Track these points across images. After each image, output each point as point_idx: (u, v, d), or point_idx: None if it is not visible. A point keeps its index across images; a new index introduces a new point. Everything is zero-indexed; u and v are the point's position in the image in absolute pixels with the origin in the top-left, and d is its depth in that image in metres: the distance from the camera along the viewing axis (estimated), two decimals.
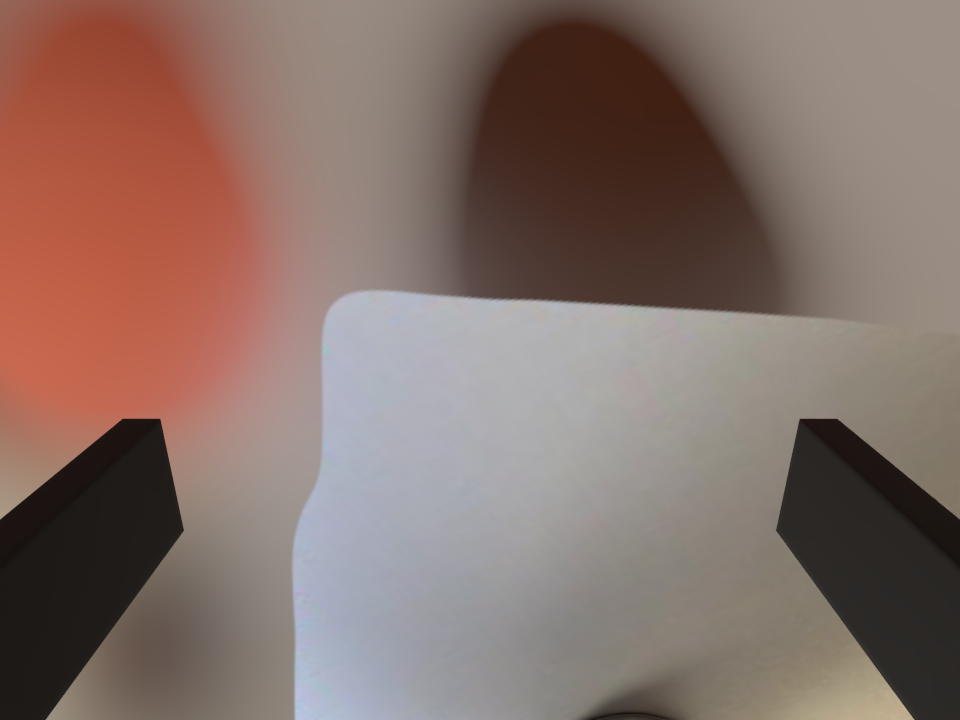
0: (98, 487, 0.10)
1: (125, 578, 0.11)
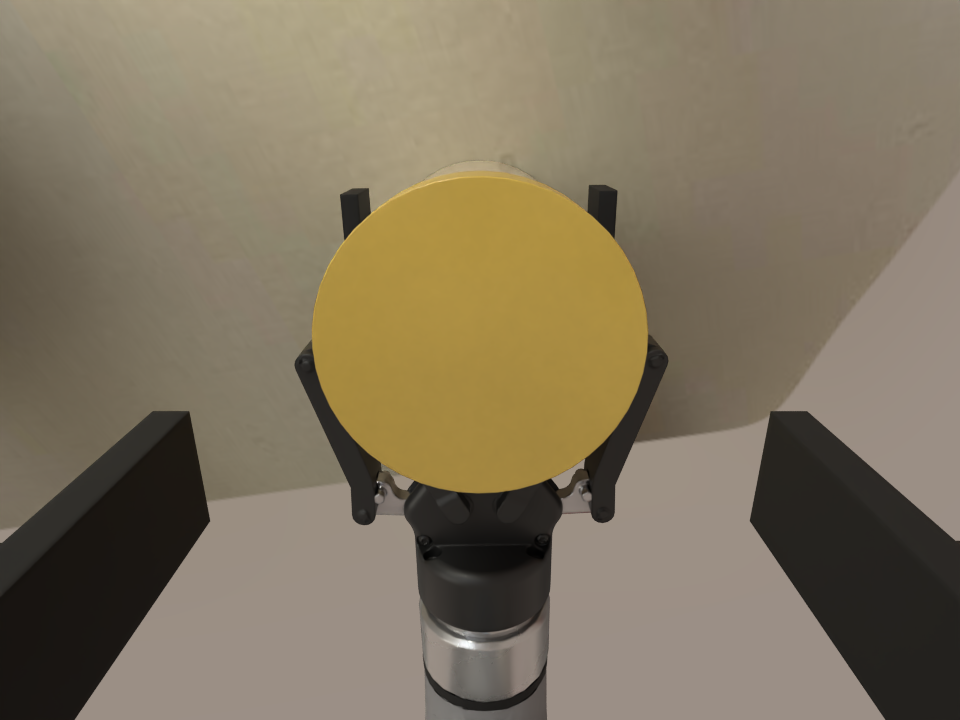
0: (134, 476, 0.11)
1: (158, 565, 0.11)
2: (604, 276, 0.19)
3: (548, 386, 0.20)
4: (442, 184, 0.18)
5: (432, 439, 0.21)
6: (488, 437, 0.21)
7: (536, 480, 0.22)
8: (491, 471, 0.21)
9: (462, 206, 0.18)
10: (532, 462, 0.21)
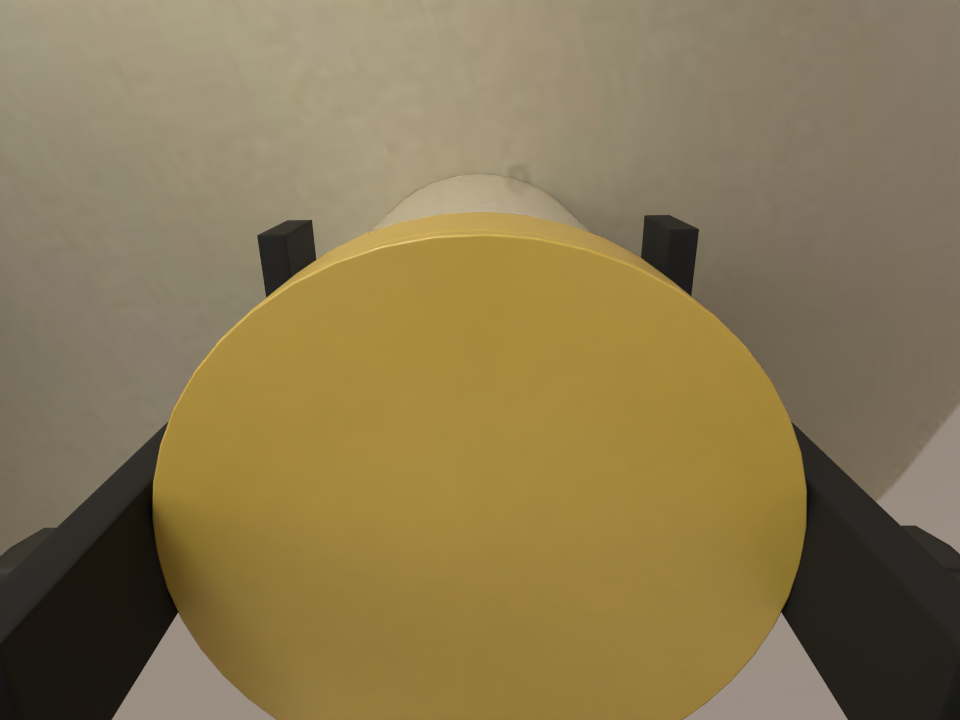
0: None
1: None
2: (730, 429, 0.09)
3: (608, 617, 0.11)
4: (400, 251, 0.08)
5: (392, 699, 0.12)
6: (495, 696, 0.11)
7: None
8: None
9: (443, 295, 0.09)
10: None
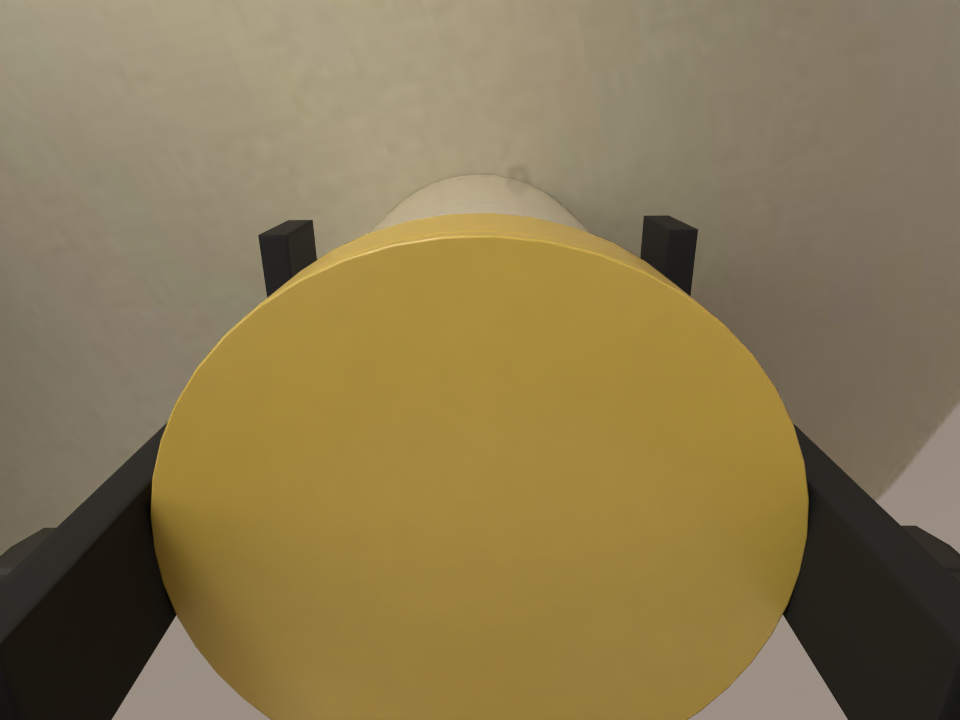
0: None
1: None
2: (237, 415, 0.09)
3: (503, 423, 0.09)
4: (239, 688, 0.11)
5: (693, 578, 0.10)
6: (658, 489, 0.10)
7: (742, 360, 0.09)
8: (740, 457, 0.10)
9: (253, 657, 0.11)
10: (696, 386, 0.09)
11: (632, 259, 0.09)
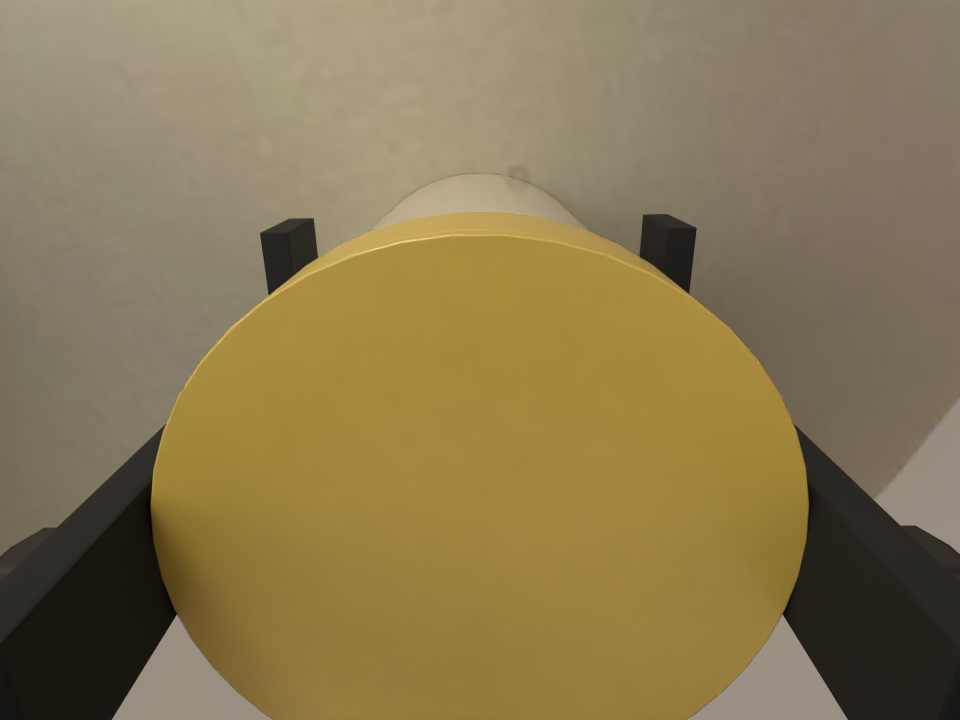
0: None
1: None
2: None
3: (331, 587, 0.10)
4: (710, 695, 0.11)
5: (413, 365, 0.09)
6: (328, 447, 0.09)
7: (171, 440, 0.09)
8: (256, 393, 0.09)
9: (665, 693, 0.11)
10: (215, 464, 0.10)
11: None
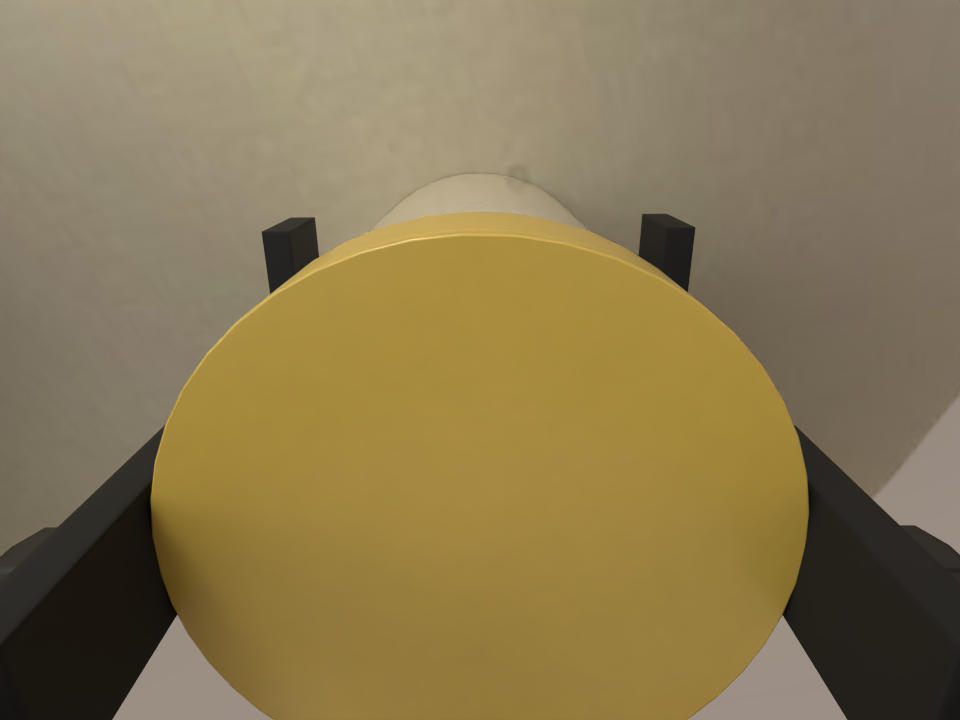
0: None
1: None
2: (755, 537, 0.10)
3: (560, 657, 0.11)
4: (578, 255, 0.08)
5: (317, 657, 0.11)
6: (416, 690, 0.11)
7: None
8: None
9: (592, 312, 0.09)
10: None
11: None
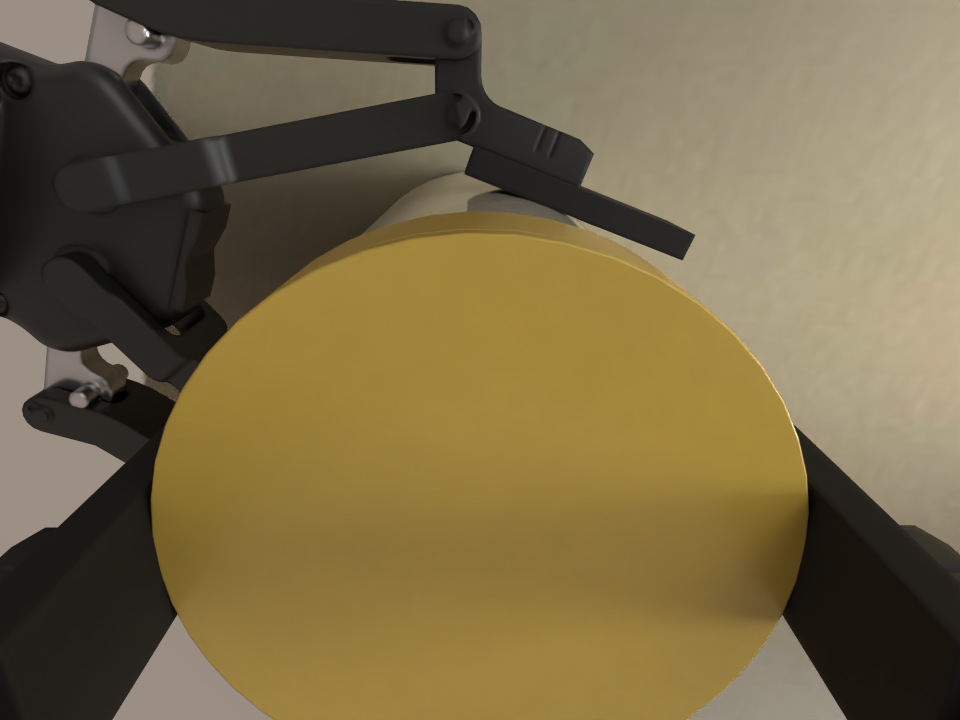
0: None
1: None
2: (754, 537, 0.10)
3: (560, 656, 0.11)
4: (578, 255, 0.08)
5: (318, 657, 0.11)
6: (416, 690, 0.11)
7: None
8: None
9: (592, 312, 0.09)
10: None
11: None
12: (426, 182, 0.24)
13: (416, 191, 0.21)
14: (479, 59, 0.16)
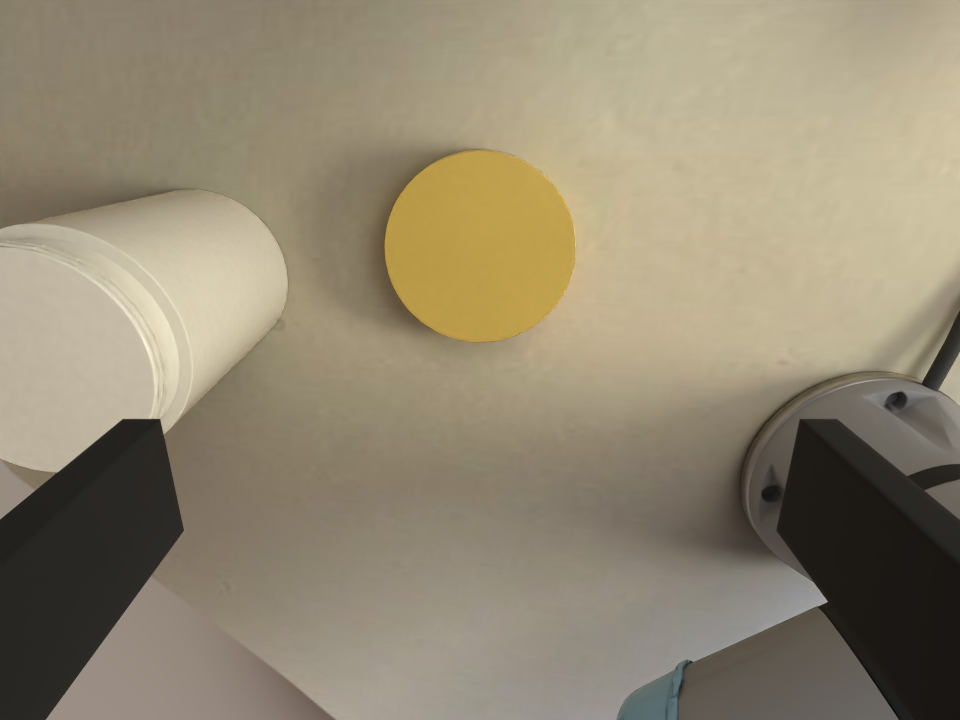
0: (98, 487, 0.10)
1: (125, 578, 0.11)
2: (560, 244, 0.35)
3: (505, 289, 0.35)
4: (505, 156, 0.33)
5: (429, 289, 0.36)
6: (460, 302, 0.36)
7: (473, 339, 0.37)
8: (452, 323, 0.36)
9: (509, 172, 0.33)
10: (476, 328, 0.36)
11: None
12: None
13: None
14: None
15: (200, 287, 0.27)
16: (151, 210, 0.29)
